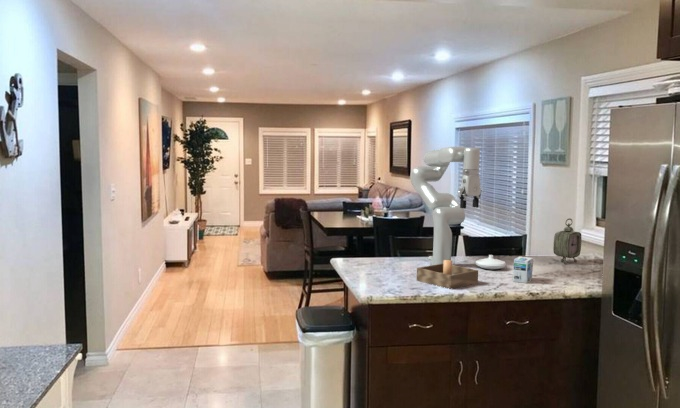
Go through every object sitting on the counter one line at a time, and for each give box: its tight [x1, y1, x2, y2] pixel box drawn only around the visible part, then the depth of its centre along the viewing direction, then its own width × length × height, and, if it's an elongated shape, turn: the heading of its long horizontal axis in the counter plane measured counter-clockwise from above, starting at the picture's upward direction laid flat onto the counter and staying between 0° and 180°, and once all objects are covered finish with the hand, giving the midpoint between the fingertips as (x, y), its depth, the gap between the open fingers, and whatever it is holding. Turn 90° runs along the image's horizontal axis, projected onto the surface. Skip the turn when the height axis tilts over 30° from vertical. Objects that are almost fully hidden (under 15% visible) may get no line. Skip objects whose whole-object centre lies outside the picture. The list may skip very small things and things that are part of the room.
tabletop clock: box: [553, 217, 582, 265], centre depth 319 cm, size 14×9×25 cm, turn 129°
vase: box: [475, 254, 507, 271], centre depth 299 cm, size 16×16×7 cm
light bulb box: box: [512, 255, 534, 284], centre depth 272 cm, size 11×7×11 cm, turn 148°
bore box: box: [416, 263, 479, 290], centre depth 266 cm, size 20×20×6 cm
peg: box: [443, 259, 453, 275], centre depth 266 cm, size 4×4×10 cm
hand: (469, 207), depth 280 cm, fingers open, 9 cm apart
